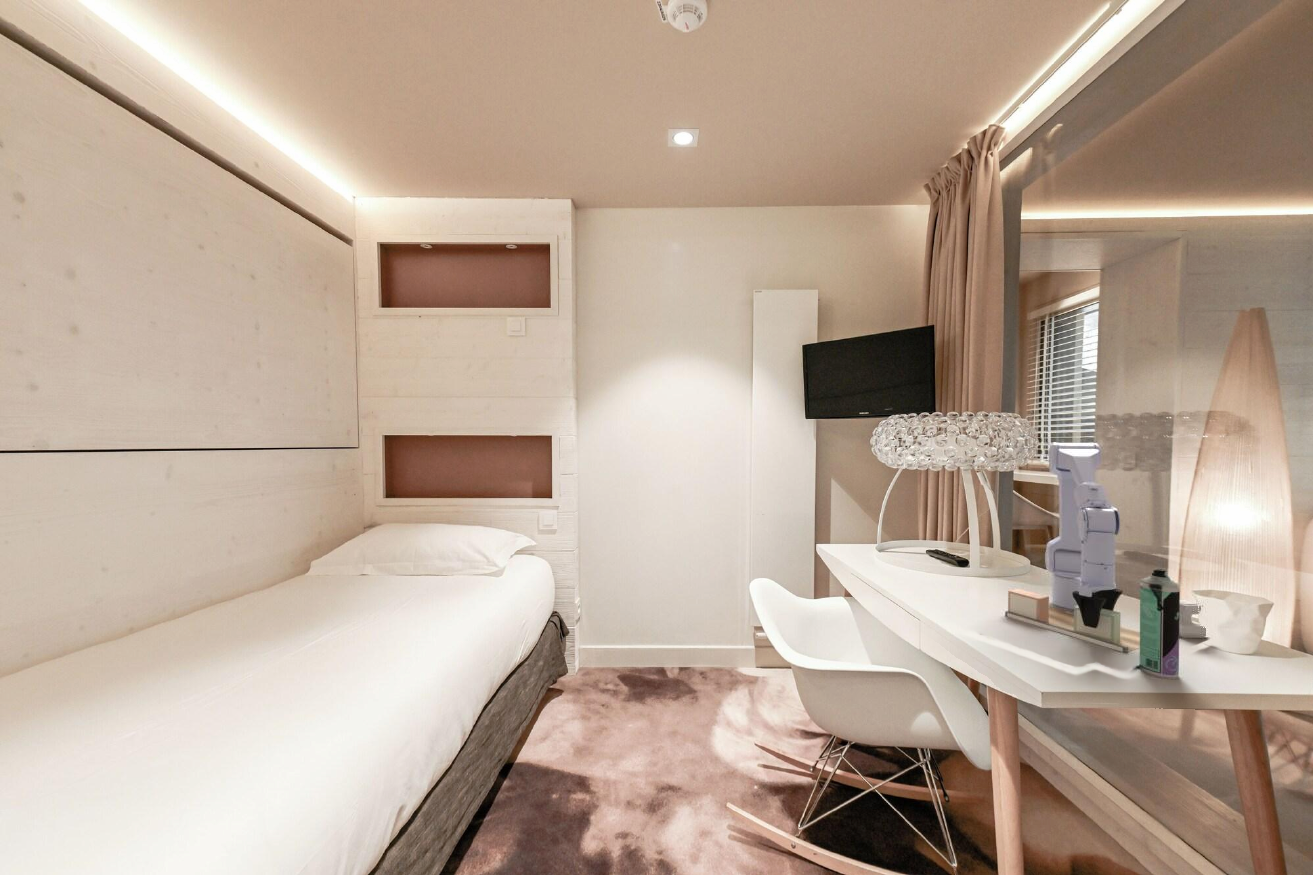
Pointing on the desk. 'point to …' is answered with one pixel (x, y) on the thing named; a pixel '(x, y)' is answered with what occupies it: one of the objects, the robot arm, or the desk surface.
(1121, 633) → the shelf board
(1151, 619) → the spray can
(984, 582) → the desk surface
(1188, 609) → the stamp
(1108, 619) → the sage carton
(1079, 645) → the desk surface
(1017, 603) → the clay carton
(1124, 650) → the rail
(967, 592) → the desk surface
